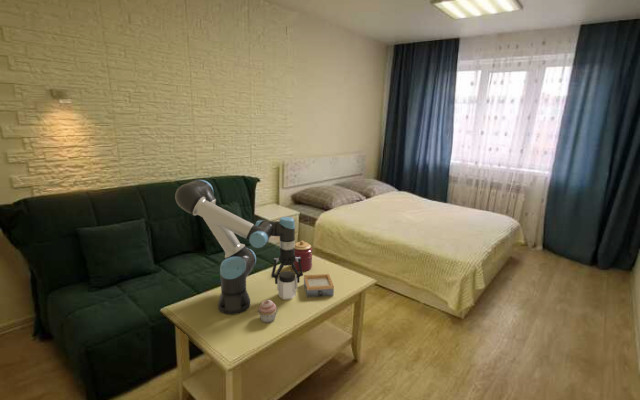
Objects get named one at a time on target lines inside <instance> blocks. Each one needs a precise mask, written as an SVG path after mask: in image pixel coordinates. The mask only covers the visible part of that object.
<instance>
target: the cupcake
mask: <svg viewBox="0 0 640 400" xmlns="http://www.w3.org/2000/svg"><path fill="white" fill-rule="evenodd" d="M278 310H279V308H278V307H277V305H276V304H275V302H273V301H272V300H270V299H266V300H264V301H262V302H261V303H260V305H259V307H258V310H257V313H258V315H259V317H260V321H261V322H263V323H264V324H270V323H273V322H274V321H275V319H276V317H277V313H278V312H279V311H278Z"/></svg>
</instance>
